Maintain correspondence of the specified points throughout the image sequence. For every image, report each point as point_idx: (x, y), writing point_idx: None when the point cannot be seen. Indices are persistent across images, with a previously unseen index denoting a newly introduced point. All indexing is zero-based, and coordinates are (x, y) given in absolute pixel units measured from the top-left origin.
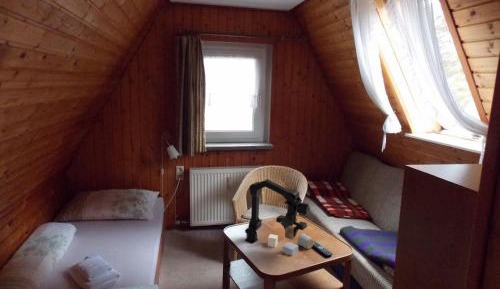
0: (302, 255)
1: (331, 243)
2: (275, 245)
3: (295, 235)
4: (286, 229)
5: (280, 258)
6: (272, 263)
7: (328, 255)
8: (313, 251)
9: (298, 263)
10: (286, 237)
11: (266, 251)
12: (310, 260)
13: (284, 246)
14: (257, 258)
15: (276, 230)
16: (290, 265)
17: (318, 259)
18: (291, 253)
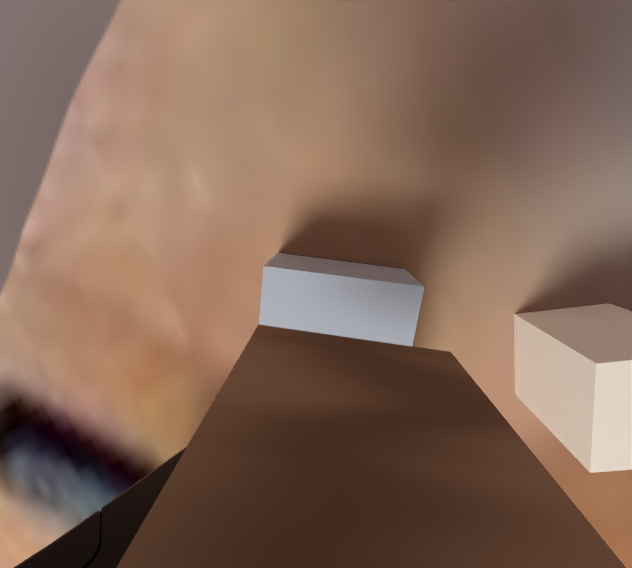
0: (195, 319)
1: None
2: (526, 330)
3: None
4: (542, 559)
5: (370, 123)
6: None
7: (7, 442)
8: (144, 440)
9: (154, 143)
10: (406, 349)
11: (583, 177)
12: (86, 273)
13: (398, 289)
14: None
15: None
16: (206, 42)
17: (38, 333)
18: (286, 258)
